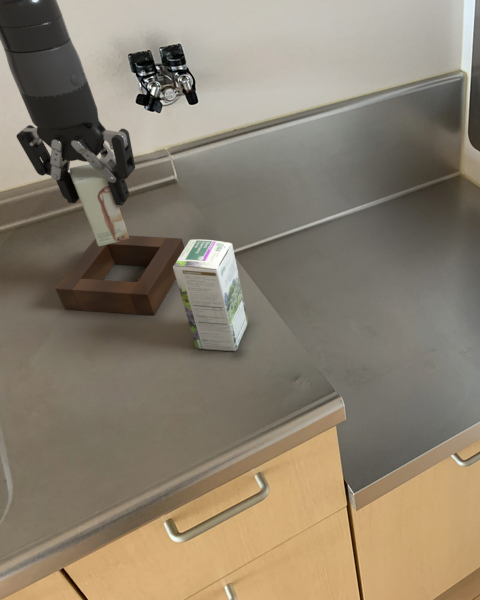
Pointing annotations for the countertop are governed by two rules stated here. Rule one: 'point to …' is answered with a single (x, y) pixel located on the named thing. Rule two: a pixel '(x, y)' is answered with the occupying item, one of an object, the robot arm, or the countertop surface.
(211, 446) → the countertop surface
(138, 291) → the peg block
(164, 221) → the countertop surface
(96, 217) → the white product box
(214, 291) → the syrup box
